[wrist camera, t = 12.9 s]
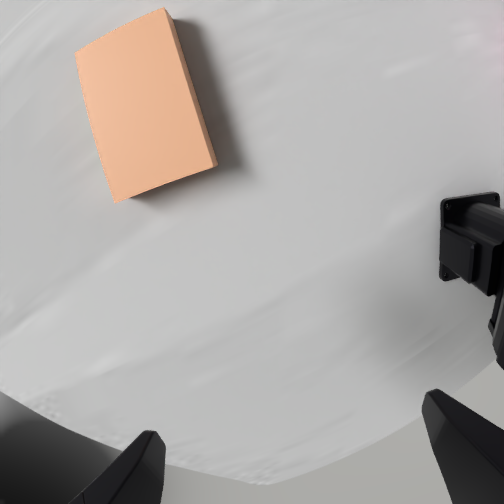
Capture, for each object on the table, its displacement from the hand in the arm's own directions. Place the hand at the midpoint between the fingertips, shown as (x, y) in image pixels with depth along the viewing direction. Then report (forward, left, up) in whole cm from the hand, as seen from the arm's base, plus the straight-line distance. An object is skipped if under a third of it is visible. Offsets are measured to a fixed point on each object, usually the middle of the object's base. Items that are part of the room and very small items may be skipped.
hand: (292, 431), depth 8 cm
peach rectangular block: (+5, -7, -12) cm, 15 cm away
